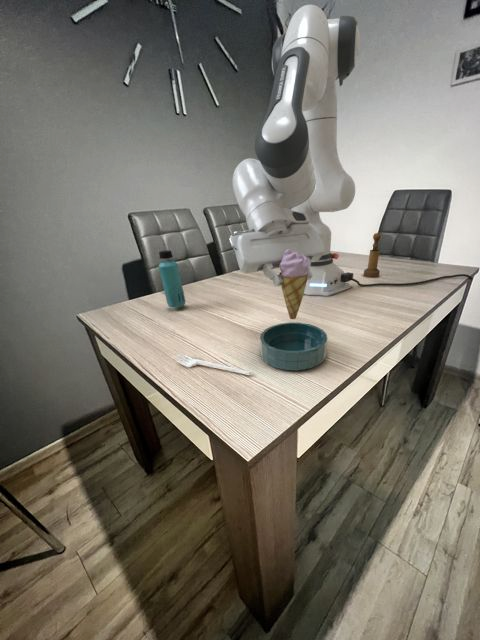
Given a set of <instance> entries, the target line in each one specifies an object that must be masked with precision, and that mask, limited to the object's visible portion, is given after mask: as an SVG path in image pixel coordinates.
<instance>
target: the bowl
mask: <svg viewBox="0 0 480 640" xmlns="http://www.w3.org/2000/svg"><path fill="white" fill-rule="evenodd" d="M259 342H260V343H259V347H260V356H261V358H262V360H263V361H264V362H265V363H266V364H267V365H269V366H271V367H273V368H275V369H280V370H283V371H284V370H285V371H301V370H302V371H303V370H309V369H311V368H315V367H317V366H319V365H321V363H323V362H324V361H325V359H326V358H327V349H328V334H327V333H326V331H324V330H323V329H322V328H321V327H319V326H316V325H314V324H310V323H305V322H282V323H277V324H274V325H271V326H269V327H267V328H265V329H264V330H263V331H262V332H261V333H260V337H259Z"/></svg>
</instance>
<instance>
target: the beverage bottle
mask: <svg viewBox="0 0 480 640" xmlns="http://www.w3.org/2000/svg"><path fill="white" fill-rule="evenodd" d="M158 255H159V259H161V260H163V261H161V262H160V263H159V264H158V269H159V274H160V277H161V283H162V286H163V287H162V288H163V291H164V297H165V299H166V300H165V301H166V304H167V306H168V307H169V308H180V307H183V306H185V305H186V298H185V292H184V288H183V284H182V278H181V273H180V270H179V264H178V262H176V261H175V260H172V258H173V257H174V256H173V252H172V250H170V249H169V250H167V249H166V250H160V251H159V252H158ZM165 259H171V260H165Z"/></svg>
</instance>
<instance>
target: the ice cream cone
mask: <svg viewBox="0 0 480 640" xmlns="http://www.w3.org/2000/svg"><path fill="white" fill-rule="evenodd" d="M282 255H283V259H282V262H281V263H280V265H279V267H280V268H279V270H280V272H279V273H278V275H280V274H281V275H282V278H283V280H284V283H283V284H282V285H281V286H280V287H281V290H282V296H283V299H284V303H285V306H286V310H287V313H288V317H289V319H290V320H297V316H298V313H299V310H300V307H301V305H302V301H303V298H304V295H305V294H304V291H305V287H306V283H307V278H308V273H309V269H308V267H307V266H308V264H309V260H308V258H307V257H306V256H304V255H303V254H301V255H299V253H298V252H291V251H290V249H288V250H286V251H285V254H282Z"/></svg>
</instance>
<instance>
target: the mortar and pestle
mask: <svg viewBox="0 0 480 640" xmlns="http://www.w3.org/2000/svg"><path fill="white" fill-rule="evenodd" d="M381 237H382V235H381V233H380V232H375V233H374V234H373V235H372V238H373V241H374V242H373V244H372V249H370V250H369V257H368V263H367V268H366V269H364V270H363V277H364V278H369V279H374V278H375V279H376V278H379V277H380V272H381V271H380V270H379V268H378V264H379V258H380V251H381V250H380V249H378V247H379V241H380V239H381Z"/></svg>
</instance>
